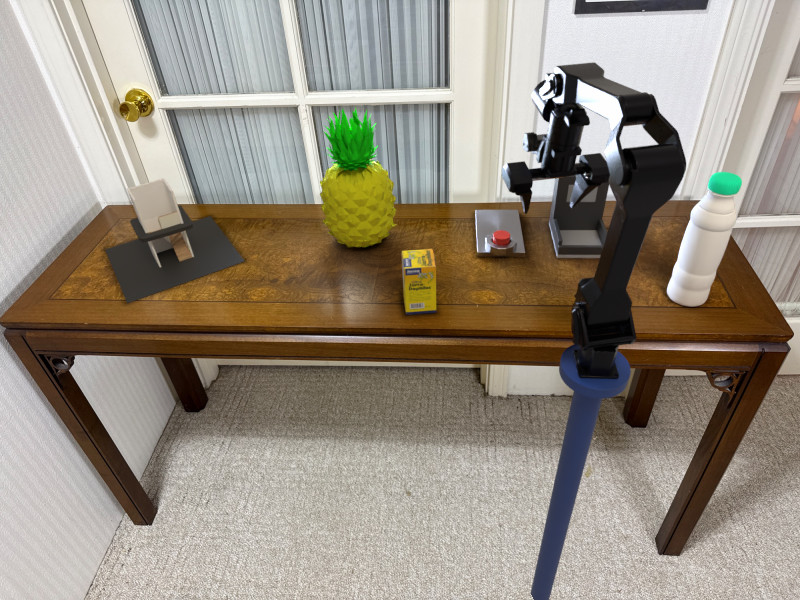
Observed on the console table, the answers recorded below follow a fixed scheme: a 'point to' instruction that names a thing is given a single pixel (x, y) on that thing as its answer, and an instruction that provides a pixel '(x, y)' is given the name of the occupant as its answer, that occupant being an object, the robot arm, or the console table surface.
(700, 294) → the water bottle
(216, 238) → the beige and grey stand
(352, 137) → the pineapple
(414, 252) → the supplement box
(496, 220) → the button block
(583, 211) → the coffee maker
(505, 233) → the button
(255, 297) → the console table surface
